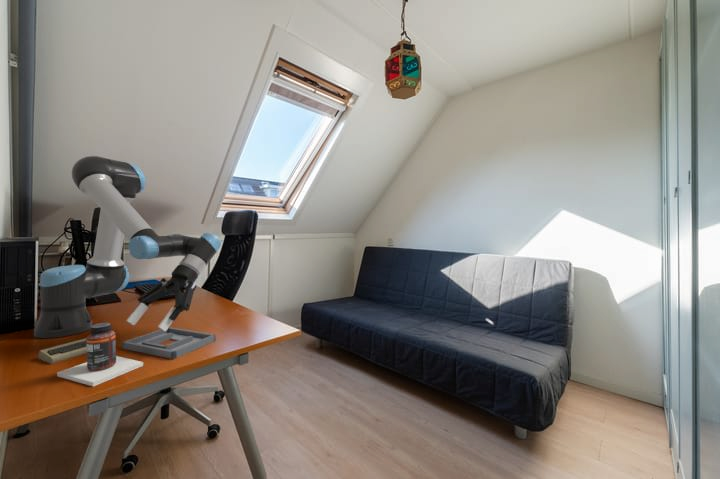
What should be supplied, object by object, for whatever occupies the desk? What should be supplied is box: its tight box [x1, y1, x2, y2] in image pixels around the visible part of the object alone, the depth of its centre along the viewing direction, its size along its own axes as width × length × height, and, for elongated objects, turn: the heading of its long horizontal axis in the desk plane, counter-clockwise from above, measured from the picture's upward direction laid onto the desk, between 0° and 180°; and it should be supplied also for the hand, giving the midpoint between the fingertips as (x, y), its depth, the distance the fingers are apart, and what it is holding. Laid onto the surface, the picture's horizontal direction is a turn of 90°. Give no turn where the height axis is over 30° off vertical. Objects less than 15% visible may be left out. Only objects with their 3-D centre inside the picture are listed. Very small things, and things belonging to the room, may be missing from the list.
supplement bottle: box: [86, 322, 117, 371], centre depth 81 cm, size 6×6×11 cm
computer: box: [37, 337, 87, 365], centre depth 93 cm, size 16×8×3 cm, turn 156°
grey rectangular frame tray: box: [121, 326, 217, 360], centre depth 100 cm, size 22×16×2 cm
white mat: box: [56, 355, 144, 387], centre depth 81 cm, size 14×12×1 cm
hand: (145, 326), depth 92 cm, fingers open, 13 cm apart
